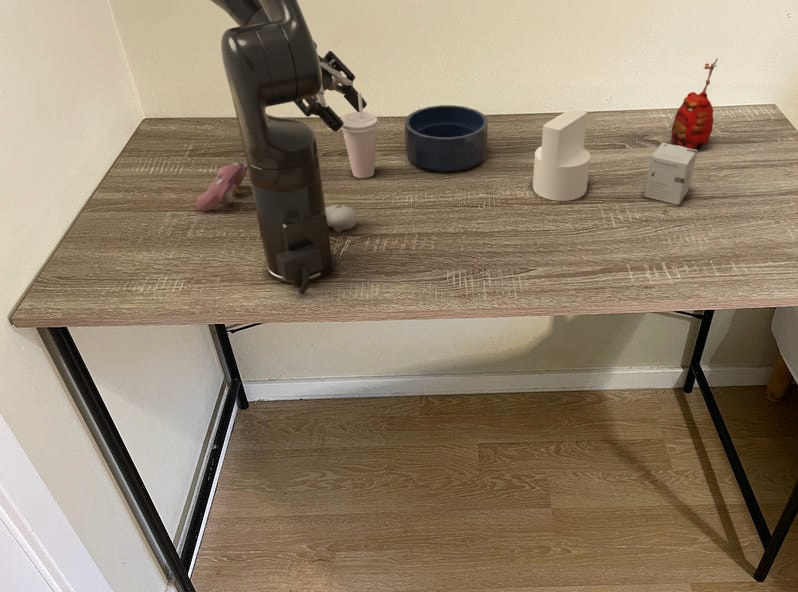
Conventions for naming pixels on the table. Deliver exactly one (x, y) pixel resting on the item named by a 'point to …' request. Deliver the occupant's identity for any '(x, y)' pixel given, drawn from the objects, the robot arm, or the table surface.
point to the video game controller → (222, 187)
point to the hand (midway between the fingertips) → (351, 118)
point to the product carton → (670, 173)
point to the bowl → (446, 138)
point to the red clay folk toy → (694, 118)
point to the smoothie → (360, 140)
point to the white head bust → (341, 217)
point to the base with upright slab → (562, 158)
